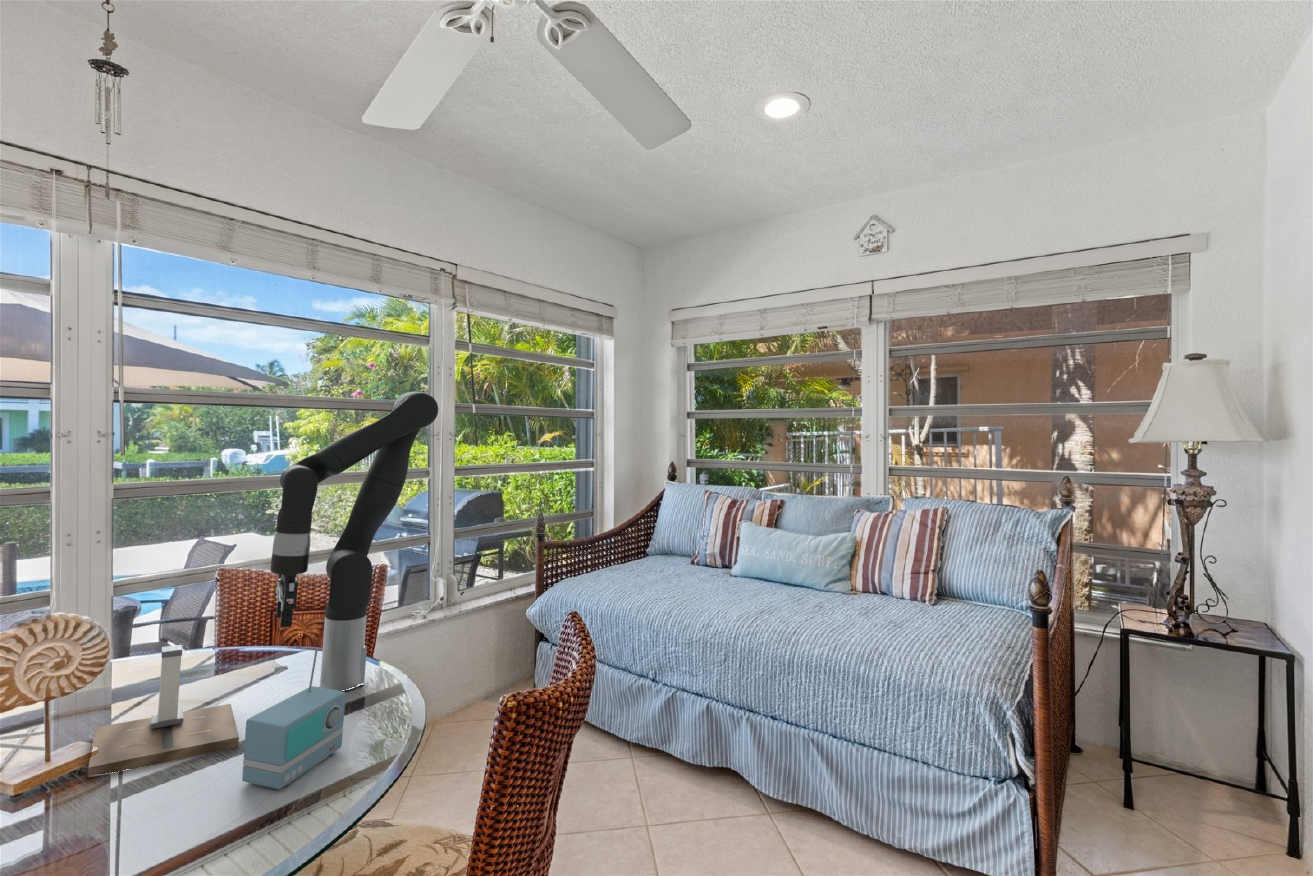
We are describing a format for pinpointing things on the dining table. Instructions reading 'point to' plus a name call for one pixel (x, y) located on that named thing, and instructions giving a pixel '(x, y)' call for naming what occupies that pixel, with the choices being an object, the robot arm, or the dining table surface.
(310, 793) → the dining table surface
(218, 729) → the brown wooden board
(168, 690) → the fader
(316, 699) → the radio
